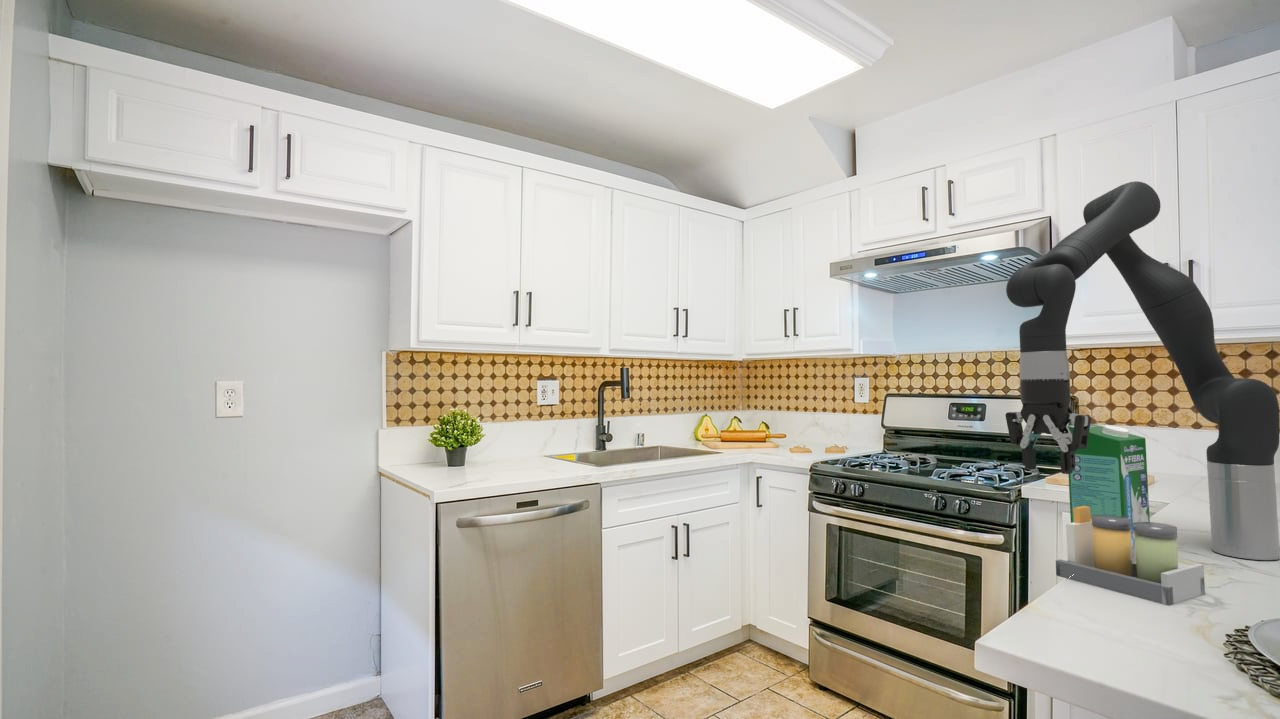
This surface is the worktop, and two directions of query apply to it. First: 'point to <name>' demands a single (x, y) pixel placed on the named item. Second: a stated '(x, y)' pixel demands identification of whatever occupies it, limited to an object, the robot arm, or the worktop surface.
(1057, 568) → the grey tray
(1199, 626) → the worktop surface
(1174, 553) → the green jar
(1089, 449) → the milk carton
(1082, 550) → the block
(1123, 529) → the amber jar
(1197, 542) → the worktop surface
